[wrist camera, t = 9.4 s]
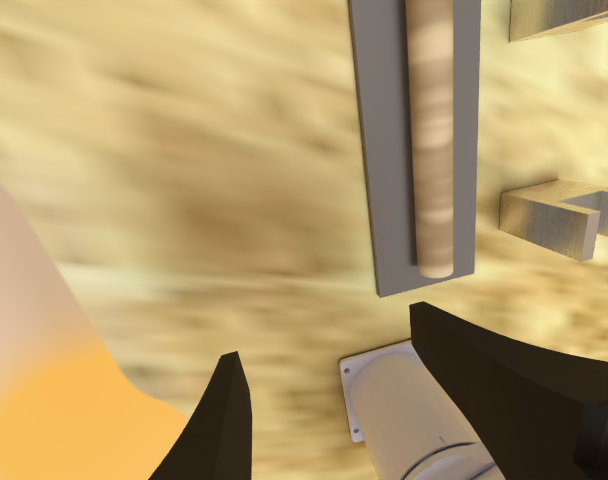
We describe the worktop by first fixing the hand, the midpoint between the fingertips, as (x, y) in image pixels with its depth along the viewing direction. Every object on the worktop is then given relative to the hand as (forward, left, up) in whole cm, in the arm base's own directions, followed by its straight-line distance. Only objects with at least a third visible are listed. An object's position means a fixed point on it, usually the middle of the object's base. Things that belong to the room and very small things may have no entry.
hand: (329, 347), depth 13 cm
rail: (+6, -10, -9) cm, 14 cm away
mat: (+6, -10, -10) cm, 16 cm away
